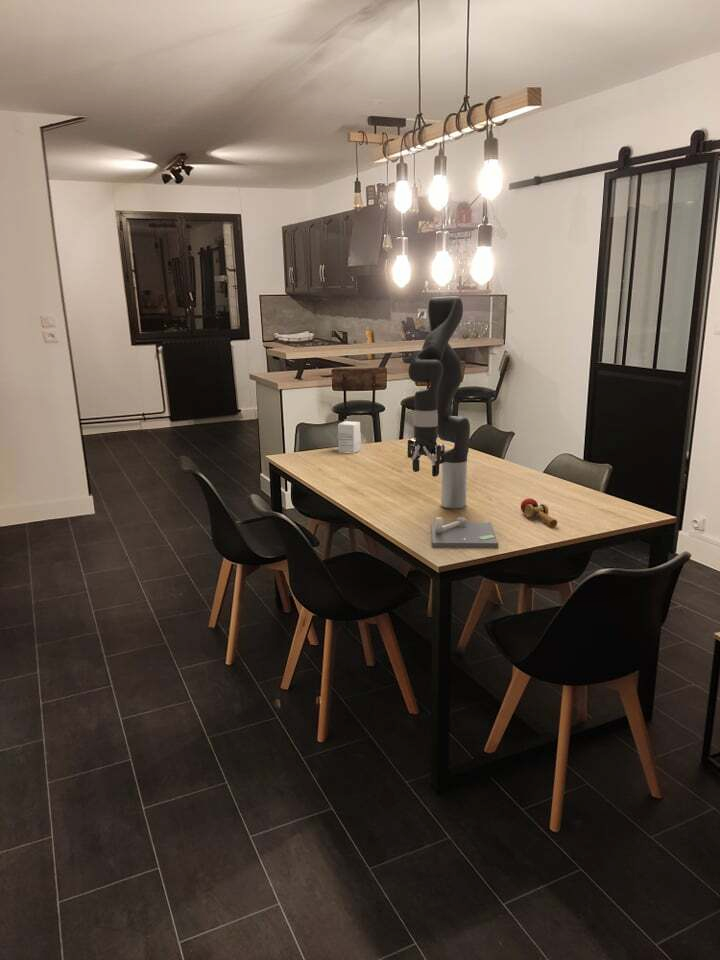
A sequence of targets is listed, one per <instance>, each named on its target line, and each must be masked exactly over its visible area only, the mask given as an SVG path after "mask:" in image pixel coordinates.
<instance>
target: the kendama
mask: <svg viewBox="0 0 720 960" xmlns="http://www.w3.org/2000/svg"><path fill="white" fill-rule="evenodd" d="M520 511H521V512H522V513H523V514H524V515H525V517H526V518H531V517H532V516H536V515H537V516H538V517H539V518H540V519H541V520H542V521H543V522H544V523H546V524H547V525H548V526H549V527H550V528H555V527H557V525H558V520H556V519H555V518H553V517H552V516H550V515H549V507H548V505H547V504H545V503H542V504H540V505H539V504H538V501H536V499H534V498H531V497H530V498H525V499H524V500H522V502H521V503H520Z"/></svg>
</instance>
